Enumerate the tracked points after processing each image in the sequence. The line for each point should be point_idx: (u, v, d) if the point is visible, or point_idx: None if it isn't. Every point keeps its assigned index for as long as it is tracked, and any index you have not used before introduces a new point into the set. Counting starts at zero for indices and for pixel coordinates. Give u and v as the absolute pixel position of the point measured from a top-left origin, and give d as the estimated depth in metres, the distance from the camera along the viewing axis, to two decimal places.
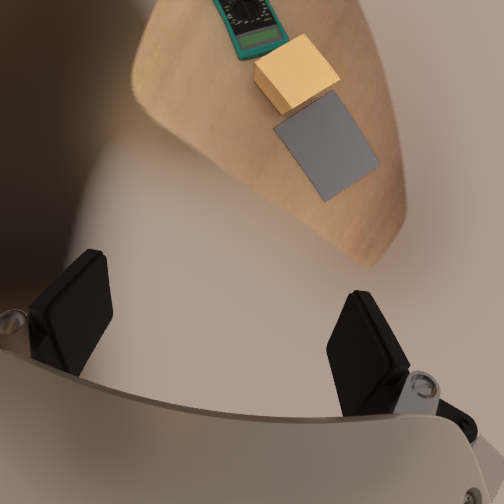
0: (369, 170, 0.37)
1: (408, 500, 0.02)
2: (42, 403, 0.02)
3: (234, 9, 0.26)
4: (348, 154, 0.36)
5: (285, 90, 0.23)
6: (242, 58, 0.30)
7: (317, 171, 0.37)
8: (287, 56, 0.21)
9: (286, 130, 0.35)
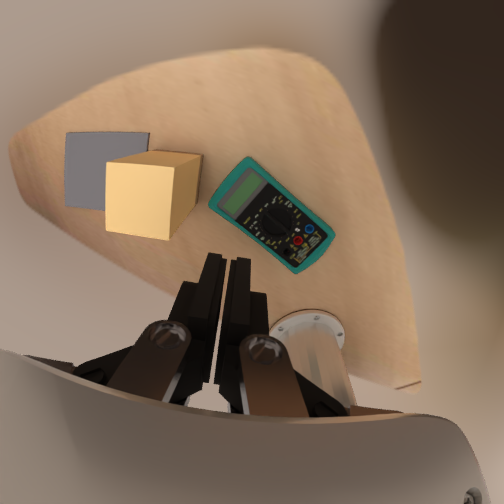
0: (65, 192, 0.31)
1: (408, 500, 0.02)
2: (42, 403, 0.02)
3: (289, 216, 0.32)
4: (85, 182, 0.31)
5: (125, 170, 0.19)
6: (245, 158, 0.29)
7: (90, 143, 0.29)
8: (156, 203, 0.20)
9: (138, 144, 0.29)
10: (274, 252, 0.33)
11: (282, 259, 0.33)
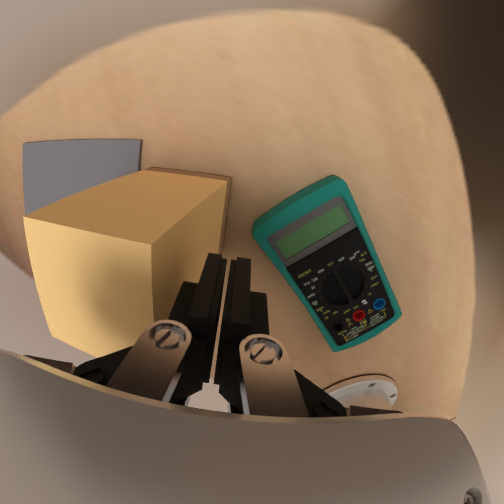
0: None
1: (408, 500, 0.02)
2: (42, 403, 0.02)
3: (361, 280, 0.20)
4: None
5: (53, 238, 0.08)
6: (335, 178, 0.17)
7: (53, 158, 0.17)
8: (122, 317, 0.09)
9: (124, 158, 0.18)
10: (322, 323, 0.22)
11: (328, 334, 0.22)
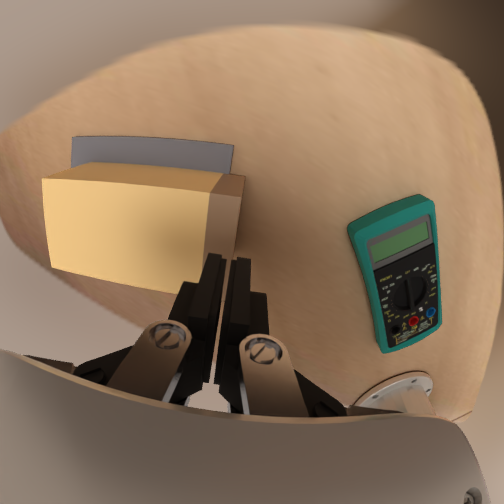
0: None
1: (408, 500, 0.02)
2: (42, 403, 0.02)
3: (421, 290, 0.21)
4: None
5: None
6: (425, 198, 0.18)
7: (116, 157, 0.17)
8: None
9: (212, 163, 0.18)
10: (384, 326, 0.22)
11: (385, 336, 0.22)
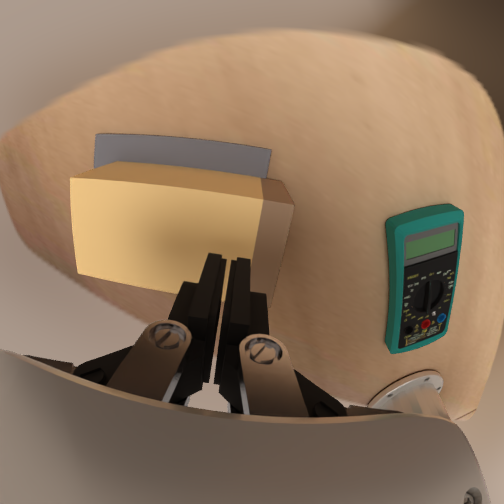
0: None
1: (408, 500, 0.02)
2: (42, 403, 0.02)
3: (437, 294, 0.21)
4: None
5: None
6: (457, 208, 0.18)
7: (146, 157, 0.17)
8: None
9: (249, 167, 0.18)
10: (400, 325, 0.22)
11: (398, 335, 0.22)
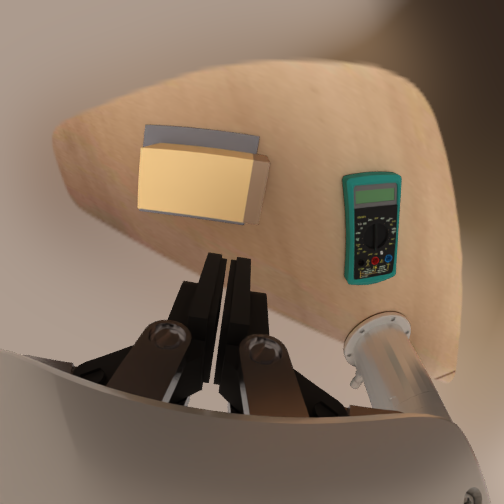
0: None
1: (408, 500, 0.02)
2: (42, 403, 0.02)
3: (384, 238, 0.32)
4: None
5: None
6: (396, 174, 0.29)
7: (181, 140, 0.28)
8: None
9: (246, 147, 0.28)
10: (354, 256, 0.33)
11: (353, 265, 0.33)
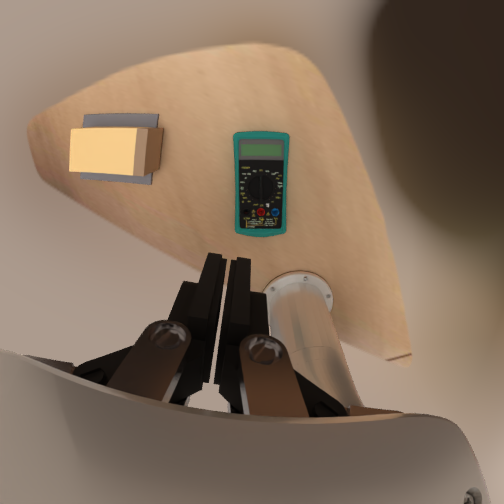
0: None
1: (408, 500, 0.02)
2: (42, 403, 0.02)
3: (271, 192, 0.37)
4: None
5: None
6: None
7: (106, 123, 0.33)
8: None
9: (148, 123, 0.34)
10: (239, 204, 0.37)
11: (238, 213, 0.38)
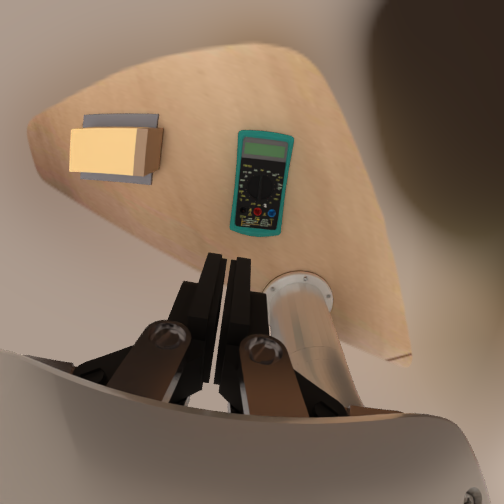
0: None
1: (408, 500, 0.02)
2: (42, 403, 0.02)
3: (270, 193, 0.37)
4: None
5: None
6: (291, 136, 0.34)
7: (106, 123, 0.33)
8: None
9: (148, 123, 0.34)
10: (236, 201, 0.37)
11: (235, 211, 0.38)
